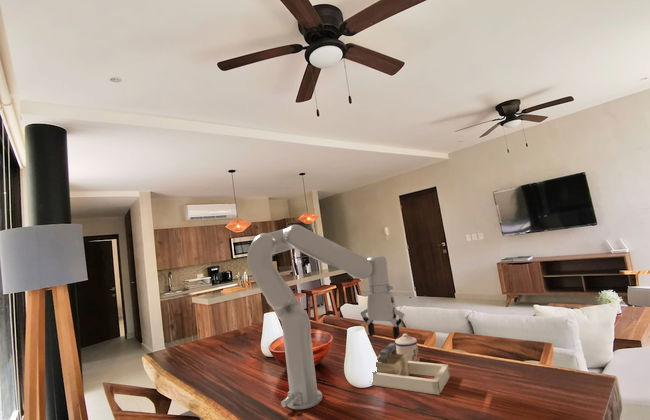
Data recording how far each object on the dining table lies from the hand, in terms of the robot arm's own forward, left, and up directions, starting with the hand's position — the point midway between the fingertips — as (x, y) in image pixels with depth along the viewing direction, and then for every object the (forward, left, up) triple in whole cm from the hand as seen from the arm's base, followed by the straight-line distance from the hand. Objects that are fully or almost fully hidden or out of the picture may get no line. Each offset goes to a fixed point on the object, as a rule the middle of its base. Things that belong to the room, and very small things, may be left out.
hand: (384, 336), depth 122 cm
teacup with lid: (+20, -1, -16) cm, 26 cm away
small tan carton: (+1, -1, -15) cm, 15 cm away
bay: (+1, -8, -16) cm, 18 cm away
